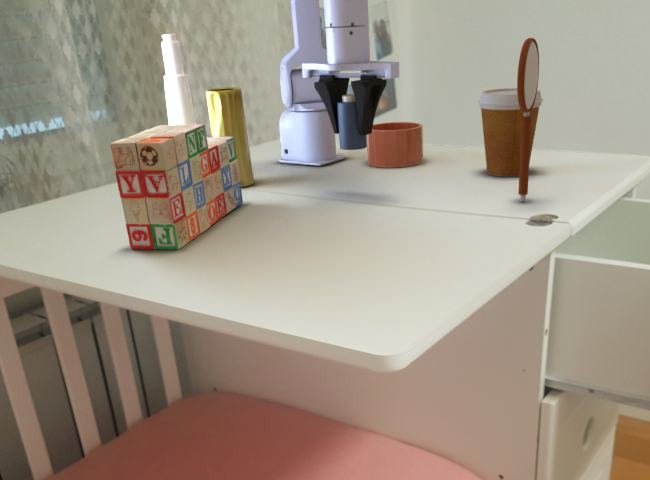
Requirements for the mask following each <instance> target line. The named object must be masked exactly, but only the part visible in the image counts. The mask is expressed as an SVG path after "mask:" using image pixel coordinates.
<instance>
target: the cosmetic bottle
mask: <svg viewBox="0 0 650 480" xmlns="http://www.w3.org/2000/svg"><path fill="white" fill-rule="evenodd" d="M161 38H162V41H161V42H160V44H161V45H160V46H161V51H162V57H163V63H164V71H165V75H163V83H164V93H165V102H166V103H165V104H166V110H167V111H166V112H167V120H168V125H191V124H197V119H196V115H195V109H194V104H193V97H192V93H191V88H190V82H189V78H188V74H187V73H185V71H184V70H185V69H184V63H183V62H184V61H183V56H182V49H181V43H180V41H179V40H178V39H177V38H178V36H177V34H176V33H165V34H164V33H163V34H162V35H161Z"/></svg>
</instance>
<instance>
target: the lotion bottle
mask: <svg viewBox="0 0 650 480" xmlns="http://www.w3.org/2000/svg"><path fill="white" fill-rule="evenodd" d="M337 107H338V124H339V134H338V138H339V149H340V150H344V151H356V150H363V149H367V136H366V135H360V134H359V129H358V113H357V106H356V100H355V96H354V93H347V94H346V95H342V101H338V102H337Z"/></svg>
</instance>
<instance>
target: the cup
mask: <svg viewBox="0 0 650 480" xmlns="http://www.w3.org/2000/svg"><path fill="white" fill-rule="evenodd" d="M366 136H367V147H366V156H367V165H368V166H371V167H373V168H382V169H399V168H400V169H401V168H408V167H409V168H410V167H414V166H418V165H420V164H422V163H423V161H424V125H423V124H422V123H419V122H413V121H412V122H411V121H410V122H409V121H392V122H391V121H390V122H381V123H380V122H379V123H375V124H374V123H373V128H372V133H371V134H367V135H366Z"/></svg>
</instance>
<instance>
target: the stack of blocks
mask: <svg viewBox="0 0 650 480" xmlns="http://www.w3.org/2000/svg"><path fill="white" fill-rule="evenodd" d="M110 150H111V155H112V160H113V165H114V168H115V171H114V173H115V178H116V183H117V187H118V189H117V190H118V193H119V197H120V201H121V205H122V210H123V216H124V221H125V227H126V232H127V236H128V242H129V247H130V249H131V250H180V249H182V248H183V247H185V245H187V244H188V243H189V242H192V241H193V240H194V239H196V238H197V237H198V236H200V235H201V234H203V233H204V232H205V231H207V230H208V229H210V227H211V226H212V225H214V224H215V223H216V222H218V221H219V220H220V219H222V218H223V217H225V216H226V215H227V214H229V213H231V212H232V211H233V210H234V209H237V208H238V207H239V206H240V205H242V204H243V201H244V200H243V192H242V188H241V183H240V174H239V166H238V160H237V158H236V150H235V141H234V137H212V136H210V137H208V136H207V130H206V124H205V123H196V124H191V125H169V124H160V125H157V126H154V127H151V128H148V129H145V130H143V131H140V132H138V133H135V134H133V135H130V136H127V137H125V138H122V139H119V140H116V141H112V142H111V143H110Z"/></svg>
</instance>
